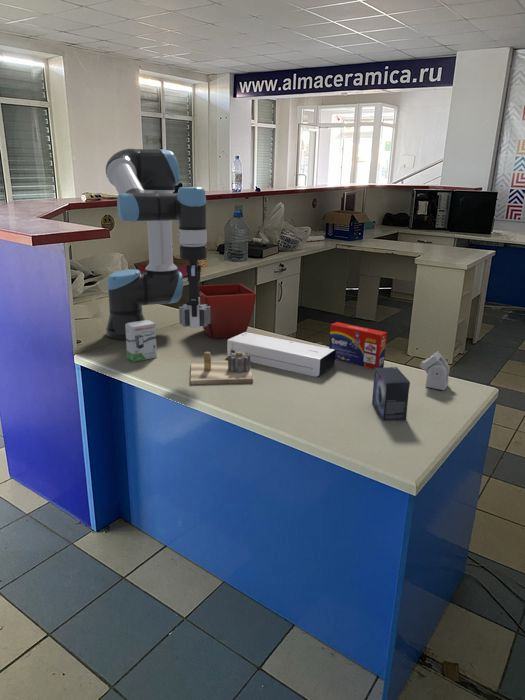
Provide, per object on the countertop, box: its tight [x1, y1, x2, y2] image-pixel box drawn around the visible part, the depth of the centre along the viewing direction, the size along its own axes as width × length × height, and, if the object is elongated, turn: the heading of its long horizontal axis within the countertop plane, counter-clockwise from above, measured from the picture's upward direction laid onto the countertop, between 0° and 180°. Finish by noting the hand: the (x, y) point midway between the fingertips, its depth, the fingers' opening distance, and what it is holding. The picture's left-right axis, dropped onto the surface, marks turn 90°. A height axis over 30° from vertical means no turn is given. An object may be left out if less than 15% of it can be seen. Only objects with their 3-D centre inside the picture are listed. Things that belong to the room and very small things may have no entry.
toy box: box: [329, 321, 388, 371], centre depth 170 cm, size 18×4×12 cm, turn 52°
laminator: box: [226, 331, 336, 378], centre depth 170 cm, size 34×12×6 cm, turn 59°
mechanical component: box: [419, 351, 450, 391], centre depth 153 cm, size 5×8×10 cm
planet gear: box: [178, 303, 210, 328], centre depth 154 cm, size 9×9×5 cm
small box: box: [371, 366, 411, 421], centre depth 135 cm, size 11×6×10 cm, turn 5°
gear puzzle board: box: [190, 351, 254, 385], centre depth 159 cm, size 16×18×7 cm
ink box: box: [125, 319, 158, 363], centre depth 171 cm, size 9×5×12 cm, turn 129°
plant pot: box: [198, 283, 257, 339], centre depth 198 cm, size 19×19×17 cm
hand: (195, 322), depth 155 cm, fingers closed on planet gear, 9 cm apart
